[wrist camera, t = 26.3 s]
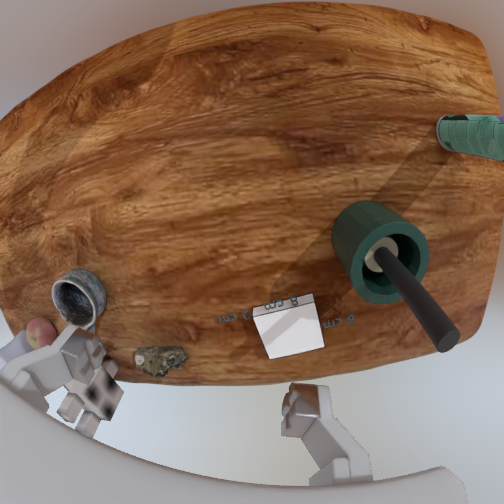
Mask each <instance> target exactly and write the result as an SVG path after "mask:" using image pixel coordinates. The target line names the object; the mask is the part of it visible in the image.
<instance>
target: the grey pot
mask: <svg viewBox="0 0 504 504" xmlns="http://www.w3.org/2000/svg"><path fill="white" fill-rule="evenodd" d="M106 298H107V296H106V291H105V288H104V286H103V285H102V283H101V281H100V280H99V278H98V277H96V276H95V275H94V274H92V273H91V272H90V271H88V270H84V269H73V270H70V271H69V272H68V273H67V274H66V275H64V277H63V279H59V280H57V281H56V282H55V283H54V285H53V287H52V299H53V302H54V304H55V306H56V308H57V309H58V310H59V311H60V314H61V316H62V318H63V319H64V320H65V322H66V323H67V324H68V325H70V324H73V325H75V326H77V327H80V328H82V329H84V330H86V331H89V332H91V333H93V334H95V321H96V318H97V317H98V316H99V315H100V314H101V313H102V312H103V311H104V308H105V305H106Z"/></svg>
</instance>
